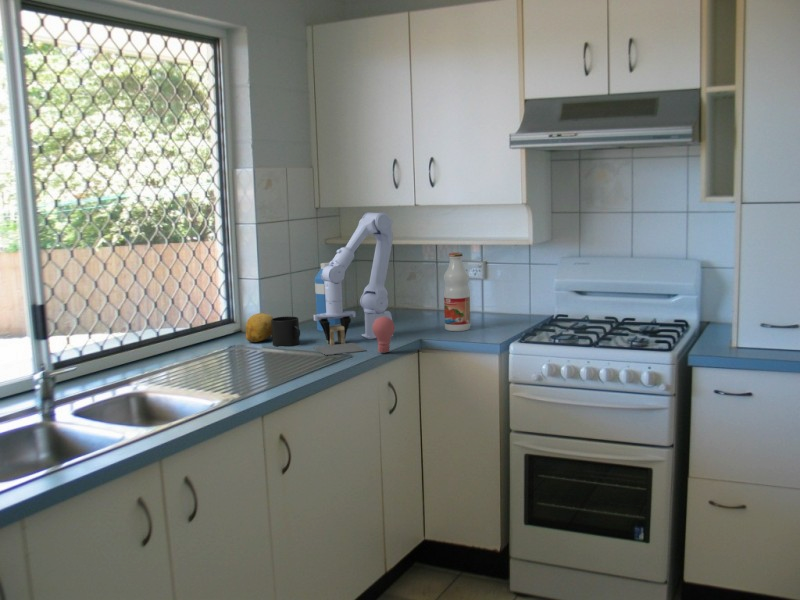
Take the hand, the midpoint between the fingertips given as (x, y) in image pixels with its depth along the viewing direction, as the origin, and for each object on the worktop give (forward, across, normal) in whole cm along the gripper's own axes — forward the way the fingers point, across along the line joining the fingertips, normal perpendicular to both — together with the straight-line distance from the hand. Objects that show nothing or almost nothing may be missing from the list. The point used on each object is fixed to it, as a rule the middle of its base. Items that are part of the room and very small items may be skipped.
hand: (335, 339), depth 295 cm
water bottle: (+2, -6, -28) cm, 29 cm away
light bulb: (+2, -9, +24) cm, 26 cm away
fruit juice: (+2, -47, -1) cm, 47 cm away
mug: (+2, +15, -7) cm, 17 cm away
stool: (+1, 0, 0) cm, 1 cm away
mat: (+1, +2, +11) cm, 11 cm away
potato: (+2, +22, -19) cm, 29 cm away
